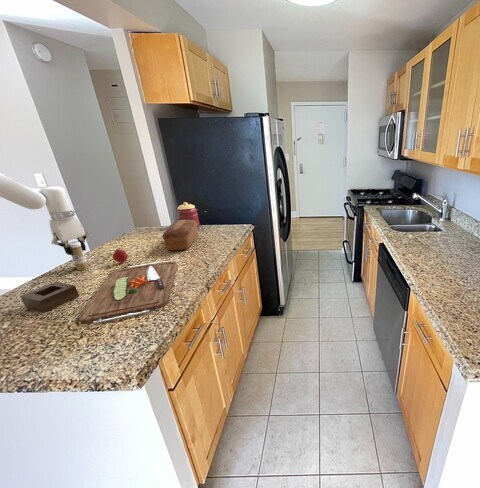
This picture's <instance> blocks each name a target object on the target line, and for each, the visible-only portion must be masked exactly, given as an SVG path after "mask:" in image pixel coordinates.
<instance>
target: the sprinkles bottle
mask: <svg viewBox="0 0 480 488" xmlns="http://www.w3.org/2000/svg"><path fill="white" fill-rule="evenodd" d="M68 245H69V247H71V249H72V252H73V255H71V259H72V260H73V263H74V265H75V268H76V270H77V271H84V270H87V269H88V268H89V267H90V265H89V264H88V261H87V258H86V256H85V255H86V254H85V253H84V252H85V251H83V250H82V248H81V243H80V242H78V240H76V241H71V242H68Z"/></svg>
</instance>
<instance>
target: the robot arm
mask: <svg viewBox="0 0 480 488" xmlns="http://www.w3.org/2000/svg"><path fill="white" fill-rule="evenodd" d="M0 198H2V199H4V200H7V201H9V202H11V203H13V204H16V205H17V206H20V207H23V208H25V209H28V210H39V209H42V208H43V207H44V206H46V209H47V211H48V214H49V216H50V219H49V227H50V228H49V229H50V232H51V235H52V240H51V242H50V243H51V244H52V245H56V246H58V247H61V248H63V250H64V252H65V254H66V255H68V256H72V255H73V252H72V249H71V247H69V245H68V243H69V241H72V240H75V239H76V241H78V242H80V243H81V248H82V250H83V252H85V251H87V248H86V243H85V242H86V239H87V237H88V236H89V235H90V231H87V230H85V229H84V227H83V224H82V222H81V221H80V219H79V218H78V217H77V215H75V214H76V213H77V210H76V209H73V208H72V206H71V202H70V200H69V197H68V194H67V192H66V189H65V188H64V187H62V186H47V187H43V188H31V187H29V186H26V185H24V184H22V183H21V182H19V181H17V180H14V179H12V178H10V177H8V176H6V175H5V174H3V173H1V172H0ZM59 241H60V242H59Z"/></svg>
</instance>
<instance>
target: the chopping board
mask: <svg viewBox="0 0 480 488" xmlns="http://www.w3.org/2000/svg"><path fill="white" fill-rule="evenodd" d="M177 269H178V263H177V261H173V260H171V261H167V260H163V261H156V262H149V263H143V264H136V265H130V266H129V265H128V267H125V268H119V269H116V270H114V271H111V273H110V274H109V275H108V276H107V278H106V280H104V282H103V283H102V285H101V286H100V287H99V289H98V290H97V292H96V293H95V294H94V296H93V297H92V298H91V299H90V301H89V303H88V304H87V305H86V307H85V308H84V309H83V311H82V312H81V313H80V314H79V316H78V320H79V322H80V323H82V324H89V323H92V324H93V325H96V324H101V323H106V322H111V321H115V320H119V319H125V318H130V317H134V316H135V317H136V316H139V315H144V314H148V313H150V311H152V310H157V309H160V308H163V307H165V306H166V305H167V304H168V303H169V300H170V295H171V292H172V288H173V284H174V280H175V276H176V273H177Z"/></svg>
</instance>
